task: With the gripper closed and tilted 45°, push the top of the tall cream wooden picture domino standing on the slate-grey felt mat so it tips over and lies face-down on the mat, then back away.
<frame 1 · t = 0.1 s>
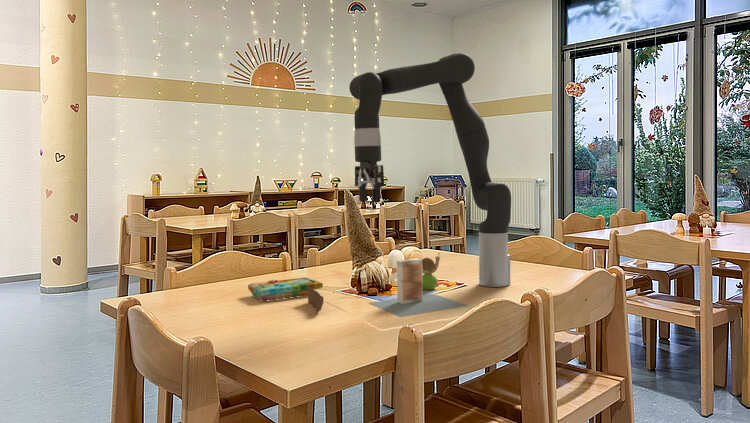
hand: (369, 201, 165), 29 cm above the table, tool pointing down, fingers open, 8 cm apart
puzzle game: (285, 296, 179), on the table
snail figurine: (430, 291, 182), on the table
picture domino: (410, 301, 165), resting on felt mat
wood plank: (313, 309, 161), on the table
felt mat: (417, 305, 162), on the table
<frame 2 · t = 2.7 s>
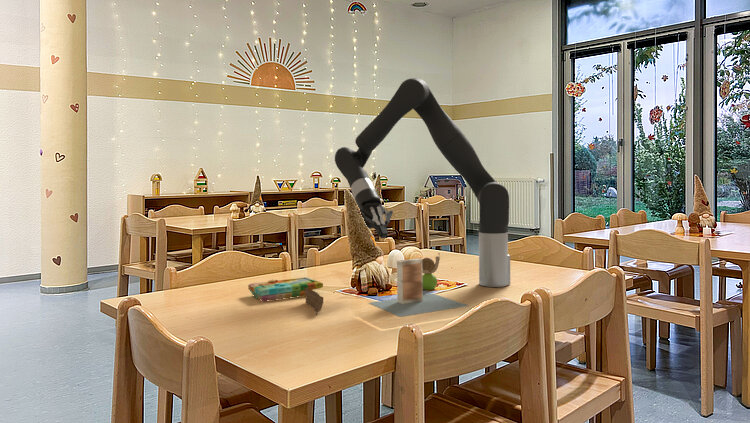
hand: (384, 236, 177), 18 cm above the table, tool tilted 45°, fingers closed
nothing on the table moved.
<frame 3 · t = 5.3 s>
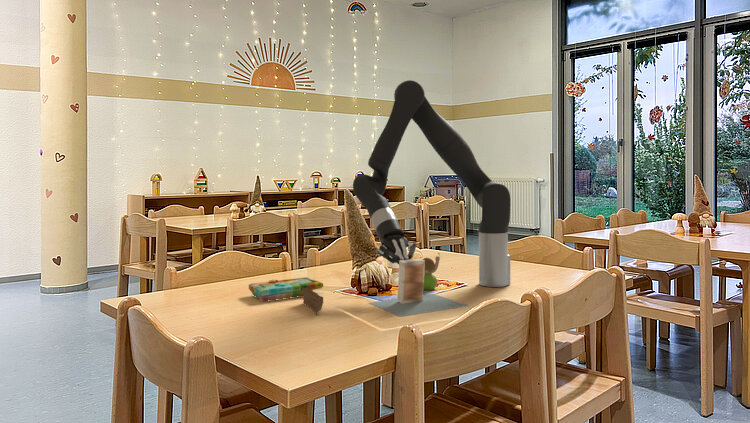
hand: (408, 272, 165), 9 cm above the table, tool tilted 45°, fingers closed
picture domino: (410, 300, 165), point 1 cm above the table, tilted 7°, touching felt mat, gripper
everything else where it was.
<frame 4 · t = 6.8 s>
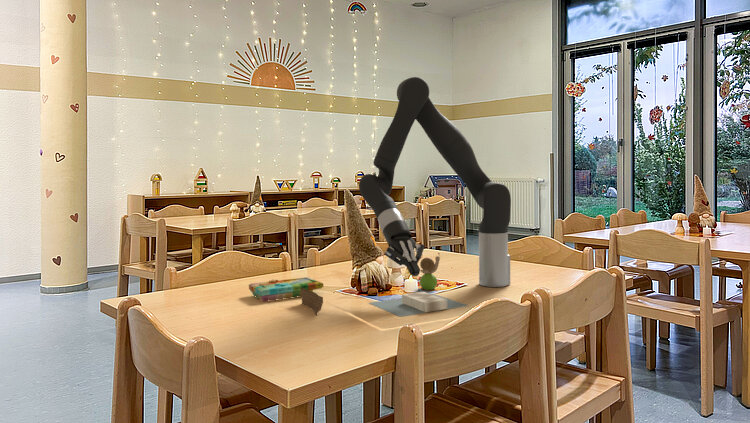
hand: (416, 274, 162), 9 cm above the table, tool tilted 45°, fingers closed
picture domino: (412, 297, 164), point 2 cm above the table, tilted 90°, touching felt mat
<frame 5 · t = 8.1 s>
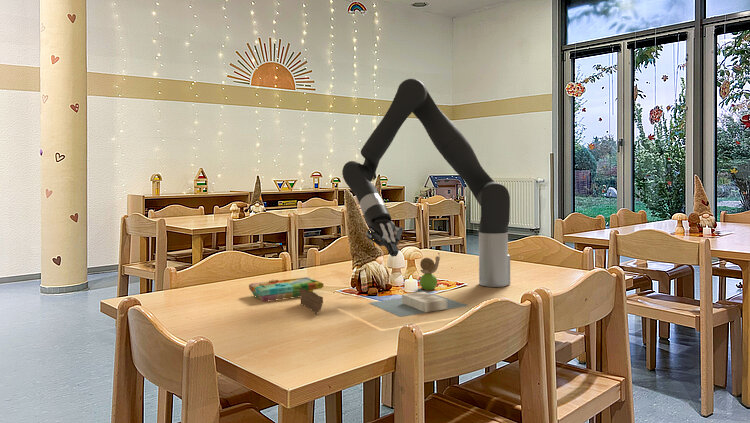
hand: (395, 254, 172), 13 cm above the table, tool tilted 45°, fingers closed
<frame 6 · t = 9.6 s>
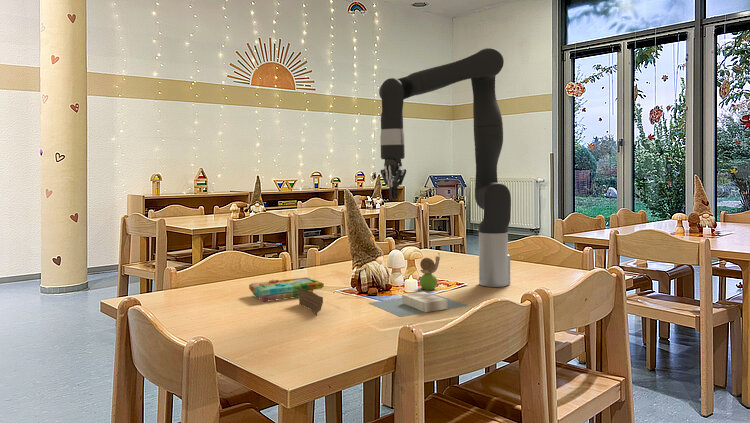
hand: (393, 198, 183), 29 cm above the table, tool pointing down, fingers closed
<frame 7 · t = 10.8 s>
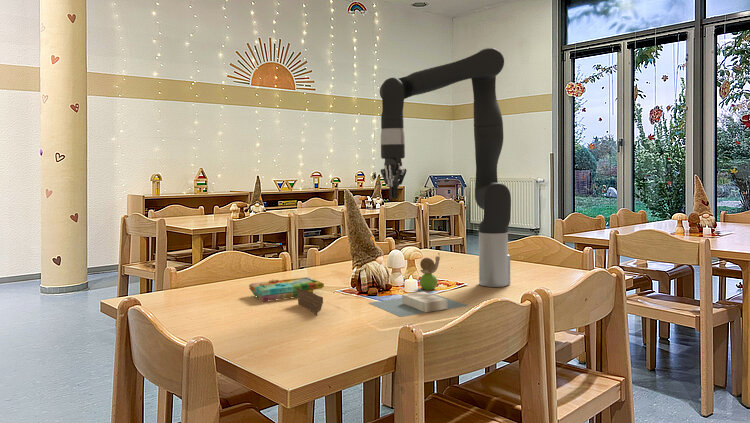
hand: (393, 198, 183), 29 cm above the table, tool pointing down, fingers closed
at the end: picture domino tilted 90°; picture domino inside the target area (2.1 cm from its centre), point 1.9 cm above the table; picture domino touching felt mat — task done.
